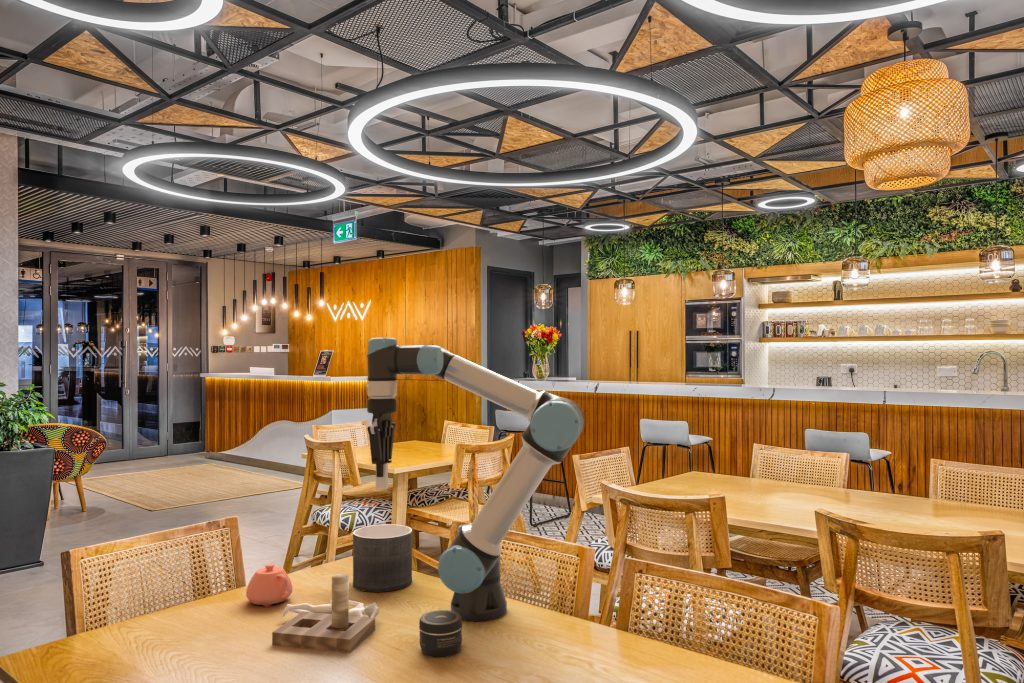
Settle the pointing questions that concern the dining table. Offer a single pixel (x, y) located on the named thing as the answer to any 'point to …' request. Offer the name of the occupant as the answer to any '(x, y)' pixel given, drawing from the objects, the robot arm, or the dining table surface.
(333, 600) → the leg
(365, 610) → the figurine
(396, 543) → the planter
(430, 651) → the jar
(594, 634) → the dining table surface
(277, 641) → the board
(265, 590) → the sugar bowl
